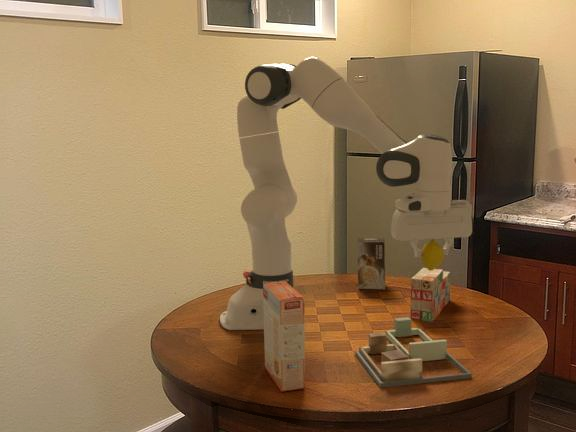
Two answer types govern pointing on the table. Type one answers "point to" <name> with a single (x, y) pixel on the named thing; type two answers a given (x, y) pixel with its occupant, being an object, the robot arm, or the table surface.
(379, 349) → the frame
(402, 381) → the lane guides
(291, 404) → the table surface
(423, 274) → the stack of blocks
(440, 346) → the frame
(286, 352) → the cracker box
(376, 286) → the coffee box
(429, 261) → the fruit
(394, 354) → the walnut cube
